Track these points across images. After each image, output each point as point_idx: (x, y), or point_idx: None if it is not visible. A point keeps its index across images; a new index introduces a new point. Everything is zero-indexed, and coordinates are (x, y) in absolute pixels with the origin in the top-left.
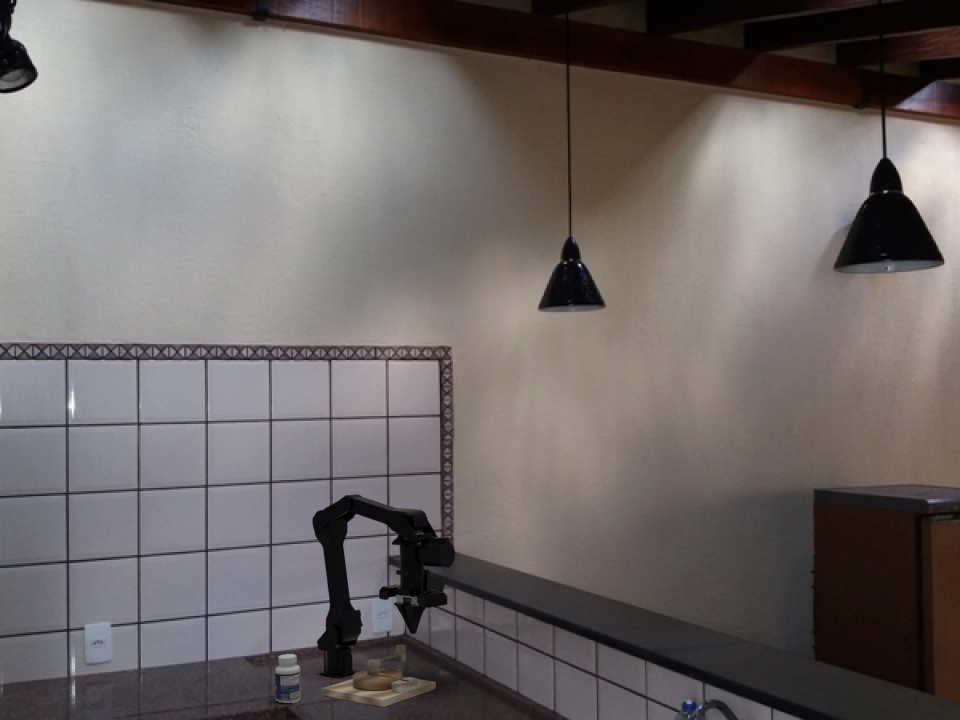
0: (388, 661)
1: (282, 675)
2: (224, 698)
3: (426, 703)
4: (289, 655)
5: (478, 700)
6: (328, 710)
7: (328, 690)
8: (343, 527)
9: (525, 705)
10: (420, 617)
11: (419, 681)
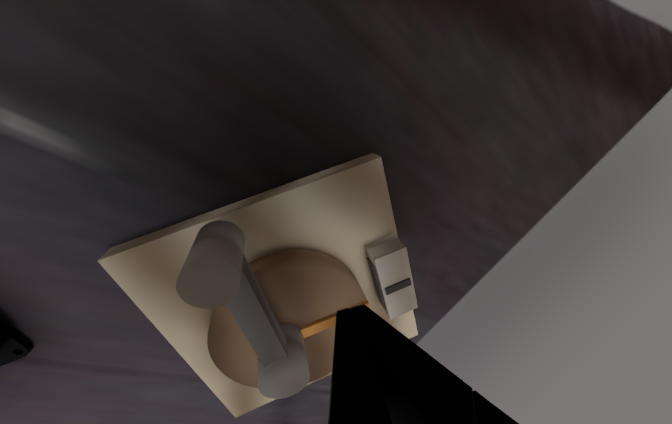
0: (272, 318)
1: None
2: None
3: (456, 242)
4: None
5: (537, 127)
6: None
7: (257, 406)
8: None
9: (651, 58)
10: (502, 419)
11: (337, 196)
